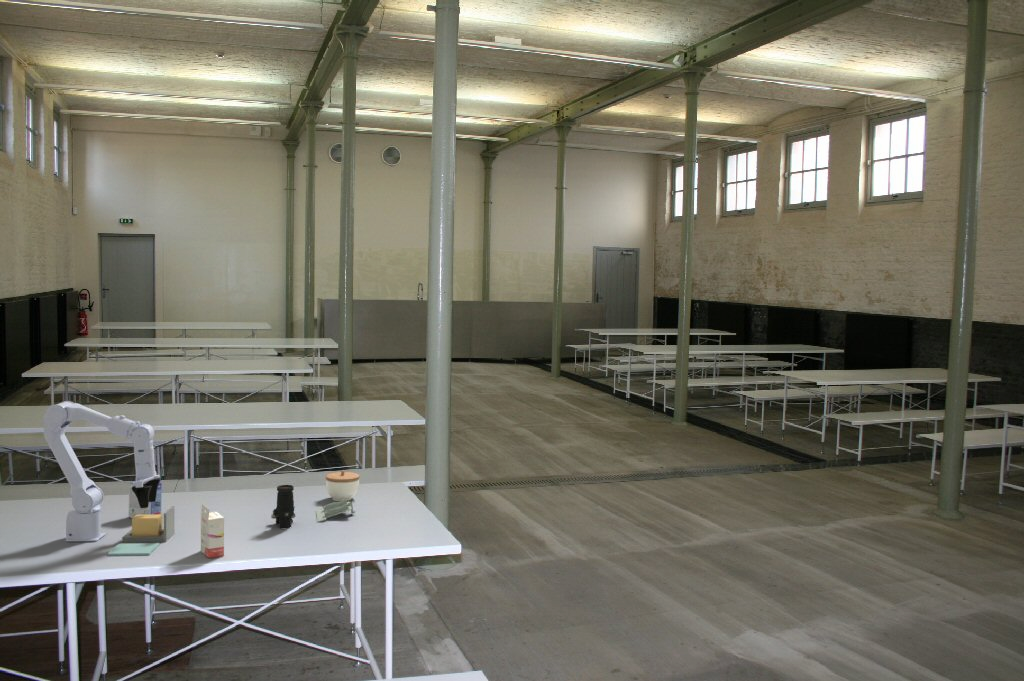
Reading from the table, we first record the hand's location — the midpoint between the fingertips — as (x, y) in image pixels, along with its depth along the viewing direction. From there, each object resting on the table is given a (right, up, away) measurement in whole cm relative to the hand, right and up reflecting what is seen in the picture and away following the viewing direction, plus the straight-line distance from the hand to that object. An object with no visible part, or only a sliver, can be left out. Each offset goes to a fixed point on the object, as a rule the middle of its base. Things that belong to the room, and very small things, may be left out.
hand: (148, 504), depth 270 cm
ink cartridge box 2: (+25, -12, -14) cm, 31 cm away
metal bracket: (+53, -11, +32) cm, 62 cm away
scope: (+39, -11, +17) cm, 44 cm away
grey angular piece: (0, -11, +1) cm, 11 cm away
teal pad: (+1, -11, -12) cm, 17 cm away
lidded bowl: (+51, -9, +56) cm, 76 cm away
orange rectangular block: (0, -11, +1) cm, 11 cm away
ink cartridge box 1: (-11, -9, +23) cm, 28 cm away
